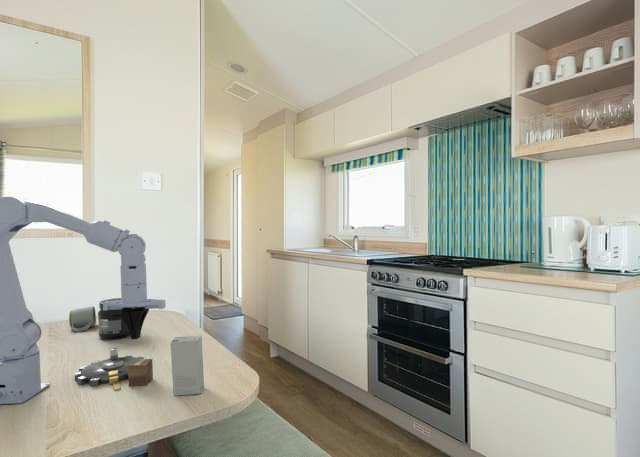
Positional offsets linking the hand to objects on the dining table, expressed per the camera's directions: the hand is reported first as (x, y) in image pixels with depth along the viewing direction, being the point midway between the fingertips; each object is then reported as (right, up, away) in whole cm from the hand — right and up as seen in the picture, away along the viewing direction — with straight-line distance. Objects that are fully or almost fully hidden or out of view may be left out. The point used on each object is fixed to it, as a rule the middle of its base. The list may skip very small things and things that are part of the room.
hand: (135, 338), depth 97 cm
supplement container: (-23, -9, +35) cm, 43 cm away
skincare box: (+16, -10, -9) cm, 21 cm away
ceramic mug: (-41, -10, +46) cm, 62 cm away
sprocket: (-7, -10, +3) cm, 12 cm away
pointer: (-1, -10, -6) cm, 12 cm away
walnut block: (+3, -10, -4) cm, 11 cm away
